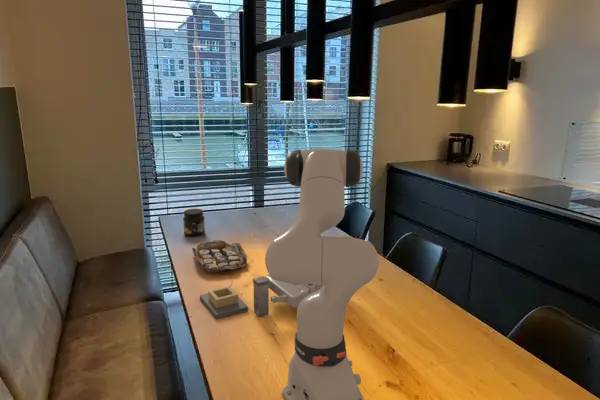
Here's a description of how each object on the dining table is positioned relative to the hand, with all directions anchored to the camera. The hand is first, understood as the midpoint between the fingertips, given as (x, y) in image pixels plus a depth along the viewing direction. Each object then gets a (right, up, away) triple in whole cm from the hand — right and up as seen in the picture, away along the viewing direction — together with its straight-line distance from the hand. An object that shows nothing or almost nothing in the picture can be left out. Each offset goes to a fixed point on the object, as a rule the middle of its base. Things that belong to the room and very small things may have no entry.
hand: (265, 294), depth 142 cm
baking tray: (-22, +4, +42) cm, 48 cm away
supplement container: (-42, +13, +78) cm, 90 cm away
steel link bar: (-1, -6, +1) cm, 7 cm away
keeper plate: (-15, -5, +6) cm, 17 cm away
